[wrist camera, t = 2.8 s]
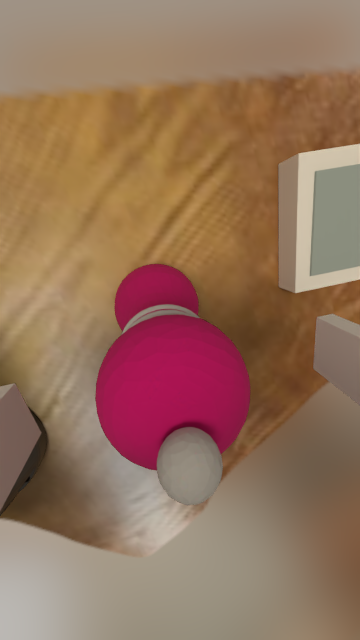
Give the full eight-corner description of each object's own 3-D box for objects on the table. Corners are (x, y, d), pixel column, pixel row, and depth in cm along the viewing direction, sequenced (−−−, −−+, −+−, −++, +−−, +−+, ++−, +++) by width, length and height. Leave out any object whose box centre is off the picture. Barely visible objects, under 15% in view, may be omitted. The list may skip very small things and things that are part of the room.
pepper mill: (118, 257, 22) (-9, 368, 3) (191, 261, 23) (382, 361, 5) (120, 325, 24) (49, 606, 6) (185, 326, 26) (296, 560, 7)
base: (278, 286, 26) (296, 293, 23) (278, 164, 21) (300, 152, 18) (373, 267, 27) (402, 271, 24) (391, 146, 22) (430, 132, 19)
